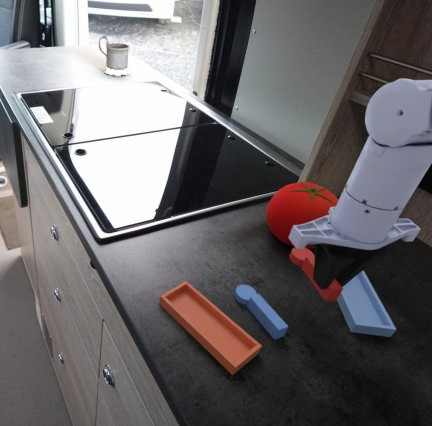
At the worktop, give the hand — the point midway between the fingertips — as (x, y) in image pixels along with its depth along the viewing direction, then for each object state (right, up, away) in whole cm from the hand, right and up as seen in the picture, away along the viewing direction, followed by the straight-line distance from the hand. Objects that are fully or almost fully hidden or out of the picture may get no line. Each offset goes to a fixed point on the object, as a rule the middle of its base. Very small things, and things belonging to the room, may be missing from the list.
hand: (327, 282), depth 48 cm
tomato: (+5, +4, +19) cm, 21 cm away
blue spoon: (-7, -5, +6) cm, 10 cm away
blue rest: (+9, -4, +9) cm, 13 cm away
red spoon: (0, +1, +3) cm, 3 cm away
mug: (-28, +64, +98) cm, 120 cm away
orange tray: (-15, -7, +3) cm, 17 cm away
